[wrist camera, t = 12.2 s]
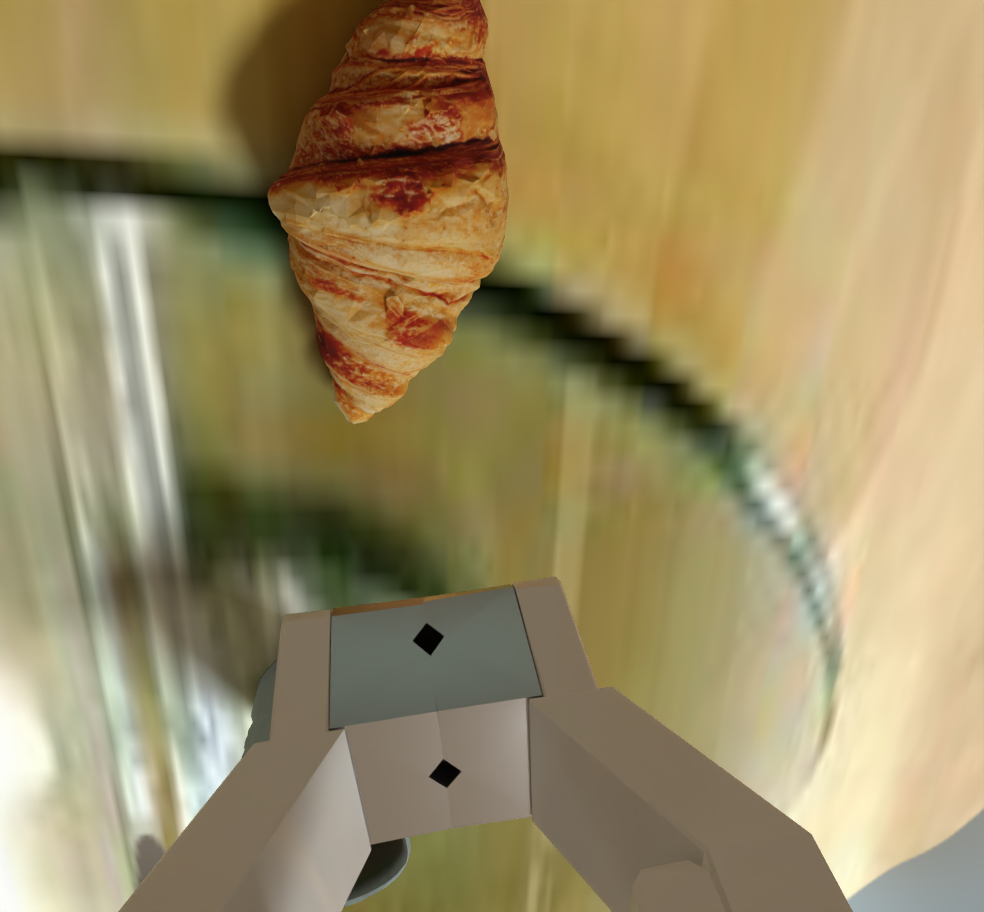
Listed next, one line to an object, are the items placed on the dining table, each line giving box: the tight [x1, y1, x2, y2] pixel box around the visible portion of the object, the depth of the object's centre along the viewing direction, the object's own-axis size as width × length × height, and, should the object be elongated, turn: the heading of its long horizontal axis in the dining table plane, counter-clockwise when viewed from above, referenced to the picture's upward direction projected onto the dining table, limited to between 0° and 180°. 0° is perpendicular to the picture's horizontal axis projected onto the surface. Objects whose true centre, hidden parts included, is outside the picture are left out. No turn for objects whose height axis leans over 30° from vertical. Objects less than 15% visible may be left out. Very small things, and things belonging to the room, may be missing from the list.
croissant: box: [268, 0, 509, 424], centre depth 34 cm, size 21×10×8 cm, turn 167°
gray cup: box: [242, 661, 410, 907], centre depth 47 cm, size 10×10×12 cm
